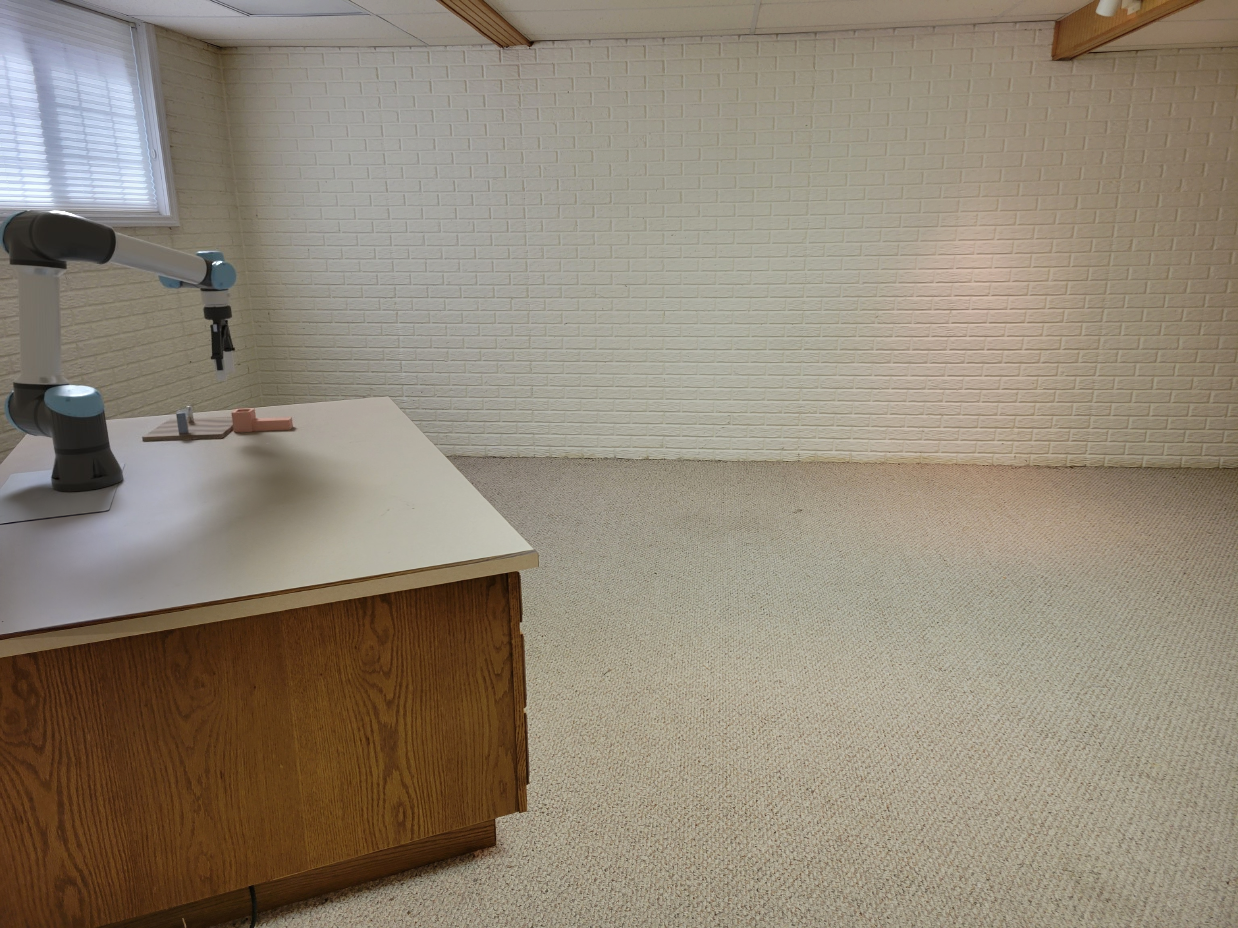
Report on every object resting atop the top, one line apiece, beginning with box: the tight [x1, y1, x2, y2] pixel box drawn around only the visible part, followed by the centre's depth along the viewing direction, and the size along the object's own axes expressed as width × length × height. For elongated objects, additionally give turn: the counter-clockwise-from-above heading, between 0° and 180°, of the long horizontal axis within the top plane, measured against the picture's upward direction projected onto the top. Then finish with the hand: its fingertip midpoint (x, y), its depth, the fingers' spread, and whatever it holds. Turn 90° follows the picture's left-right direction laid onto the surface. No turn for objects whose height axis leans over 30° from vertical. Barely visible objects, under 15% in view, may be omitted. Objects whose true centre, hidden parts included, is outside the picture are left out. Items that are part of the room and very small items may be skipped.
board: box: [141, 416, 234, 442], centre depth 271 cm, size 24×22×1 cm
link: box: [231, 407, 294, 433], centre depth 271 cm, size 16×5×6 cm, turn 98°
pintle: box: [185, 405, 195, 423], centre depth 276 cm, size 2×2×6 cm
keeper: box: [175, 408, 189, 434], centre depth 263 cm, size 6×2×7 cm, turn 18°
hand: (226, 377), depth 266 cm, fingers open, 13 cm apart
